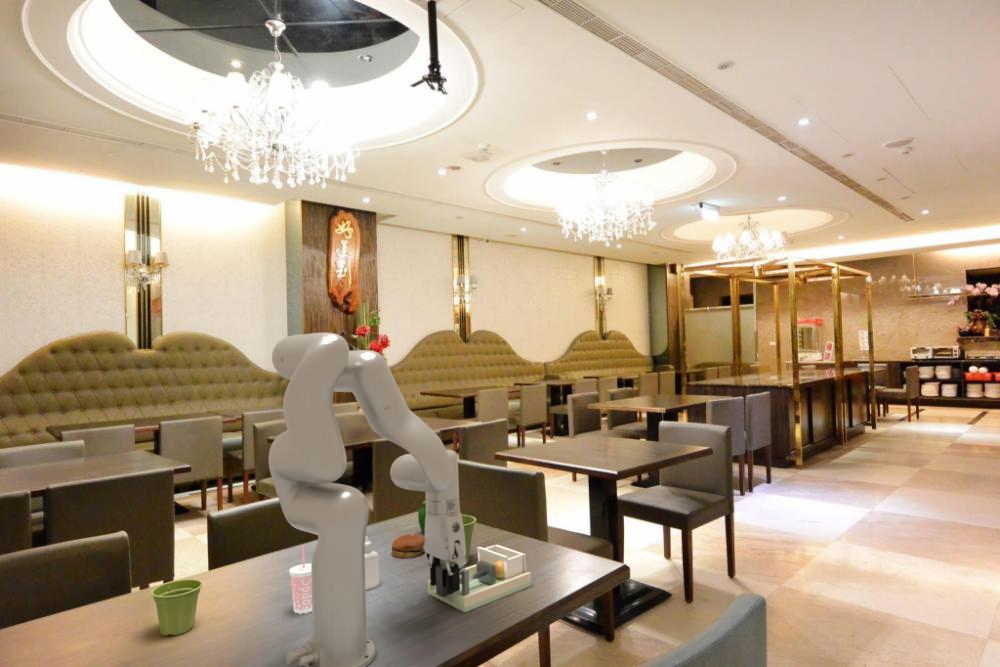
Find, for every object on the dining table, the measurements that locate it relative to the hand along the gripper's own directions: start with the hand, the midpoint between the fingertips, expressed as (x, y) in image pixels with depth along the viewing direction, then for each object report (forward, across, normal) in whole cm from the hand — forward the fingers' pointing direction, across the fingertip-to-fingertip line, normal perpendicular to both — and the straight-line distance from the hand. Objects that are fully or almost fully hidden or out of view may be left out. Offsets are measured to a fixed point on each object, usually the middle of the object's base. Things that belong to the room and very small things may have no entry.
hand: (445, 586), depth 128 cm
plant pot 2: (+4, +19, -17) cm, 26 cm away
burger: (+4, +35, -13) cm, 37 cm away
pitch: (+3, 0, -10) cm, 11 cm away
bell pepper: (+4, +46, -28) cm, 54 cm away
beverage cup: (+4, +20, +24) cm, 31 cm away
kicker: (+2, 0, -6) cm, 6 cm away
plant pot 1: (+4, +30, +47) cm, 56 cm away
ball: (0, 0, -16) cm, 17 cm away
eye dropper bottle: (+4, +21, +8) cm, 23 cm away
